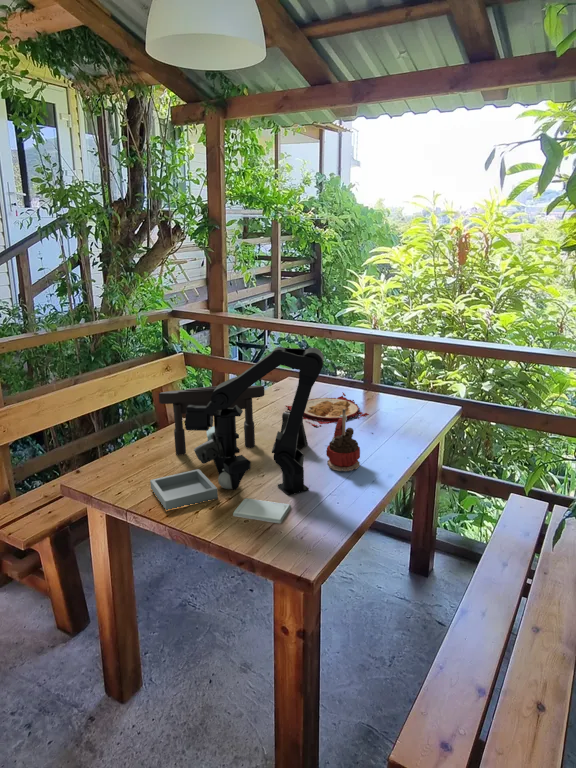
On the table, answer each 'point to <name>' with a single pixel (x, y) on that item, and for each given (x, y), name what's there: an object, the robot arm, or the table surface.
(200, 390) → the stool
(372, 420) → the table surface
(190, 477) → the tray
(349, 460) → the cake
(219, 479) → the garlic
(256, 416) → the table surface
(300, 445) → the phone stand
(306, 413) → the plate with food
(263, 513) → the hard drive
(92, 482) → the table surface
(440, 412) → the table surface
